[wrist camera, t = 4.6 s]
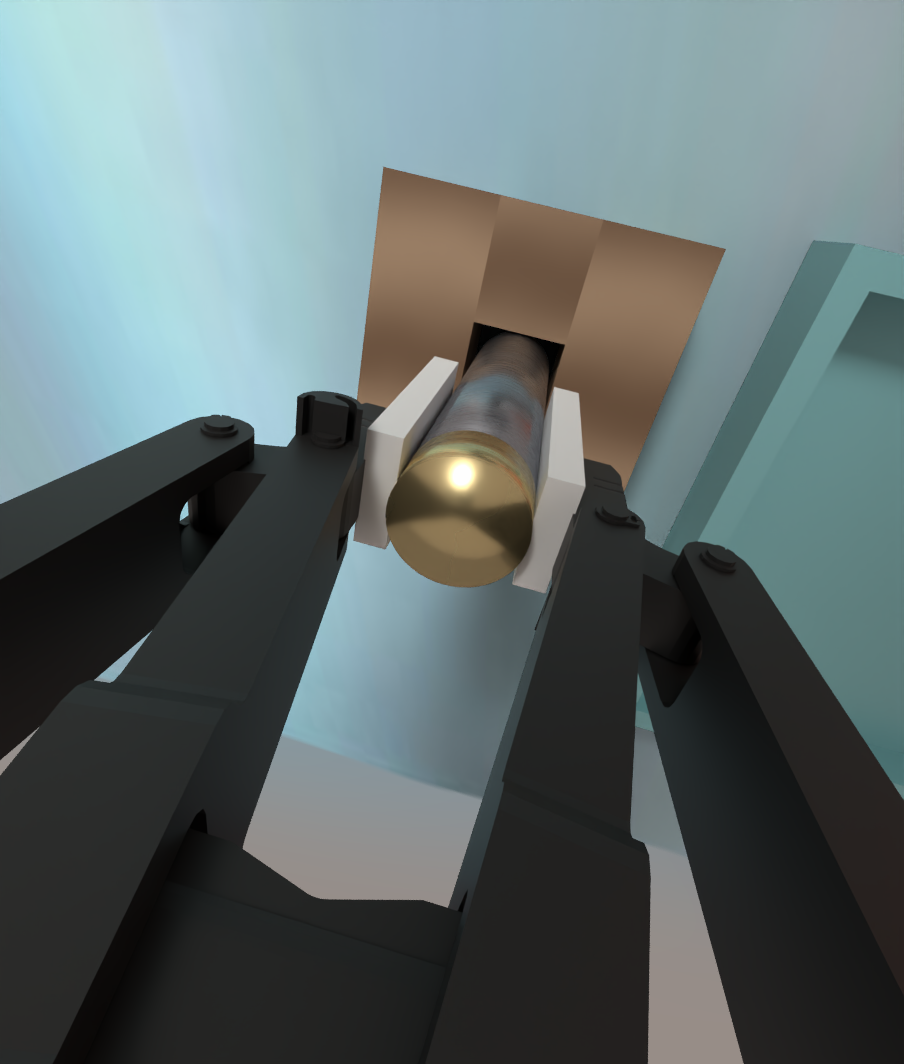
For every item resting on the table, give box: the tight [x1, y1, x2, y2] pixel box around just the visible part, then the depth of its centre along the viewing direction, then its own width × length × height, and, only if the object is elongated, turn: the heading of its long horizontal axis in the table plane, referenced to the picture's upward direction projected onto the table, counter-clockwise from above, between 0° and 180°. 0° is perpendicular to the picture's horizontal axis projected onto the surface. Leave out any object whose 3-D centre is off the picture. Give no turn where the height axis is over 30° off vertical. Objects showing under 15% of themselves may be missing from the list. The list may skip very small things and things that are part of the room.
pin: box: [385, 331, 549, 587], centre depth 16 cm, size 3×3×13 cm
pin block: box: [357, 167, 726, 490], centre depth 23 cm, size 12×12×4 cm
